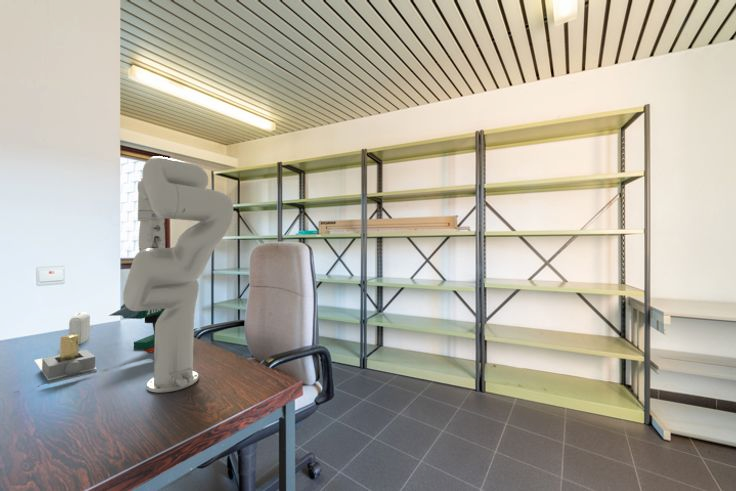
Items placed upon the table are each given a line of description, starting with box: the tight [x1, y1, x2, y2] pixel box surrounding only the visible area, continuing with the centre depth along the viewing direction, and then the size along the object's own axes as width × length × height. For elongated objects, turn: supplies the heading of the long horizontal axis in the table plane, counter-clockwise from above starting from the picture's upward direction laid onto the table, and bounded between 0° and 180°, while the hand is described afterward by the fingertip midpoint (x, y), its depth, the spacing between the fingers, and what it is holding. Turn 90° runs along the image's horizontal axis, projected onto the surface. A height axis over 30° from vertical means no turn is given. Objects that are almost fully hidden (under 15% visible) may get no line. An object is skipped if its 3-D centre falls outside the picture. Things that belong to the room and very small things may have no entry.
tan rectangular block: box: [59, 334, 80, 362], centre depth 92 cm, size 4×4×10 cm
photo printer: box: [68, 311, 91, 345], centre depth 118 cm, size 10×4×12 cm, turn 28°
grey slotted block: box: [33, 349, 97, 385], centre depth 95 cm, size 25×10×5 cm, turn 54°
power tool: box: [108, 303, 166, 354], centre depth 113 cm, size 32×7×20 cm, turn 179°
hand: (150, 266), depth 103 cm, fingers open, 9 cm apart
